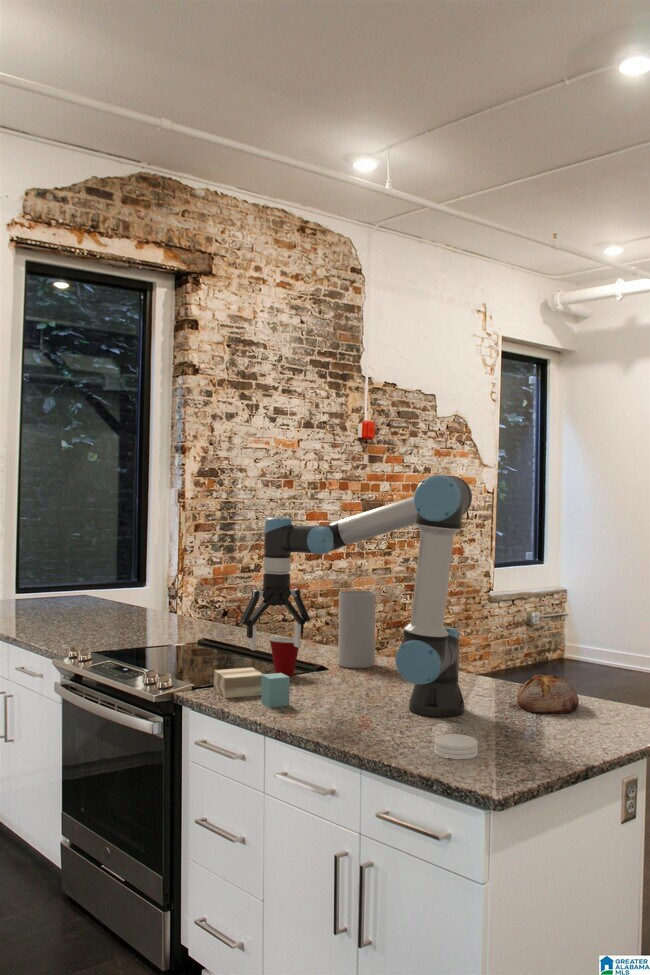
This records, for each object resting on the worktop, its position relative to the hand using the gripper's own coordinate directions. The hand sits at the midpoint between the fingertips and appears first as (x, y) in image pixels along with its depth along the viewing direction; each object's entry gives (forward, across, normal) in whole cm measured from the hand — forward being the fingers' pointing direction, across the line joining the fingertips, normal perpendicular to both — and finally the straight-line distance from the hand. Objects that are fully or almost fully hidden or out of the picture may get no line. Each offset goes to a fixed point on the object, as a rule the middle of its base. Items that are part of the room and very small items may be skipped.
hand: (274, 648), depth 246 cm
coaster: (+15, -20, +59) cm, 65 cm away
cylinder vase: (+16, -47, -39) cm, 63 cm away
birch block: (+16, +4, -18) cm, 24 cm away
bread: (+15, -70, +34) cm, 79 cm away
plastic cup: (+16, -18, -34) cm, 41 cm away
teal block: (+16, 0, 0) cm, 16 cm away
